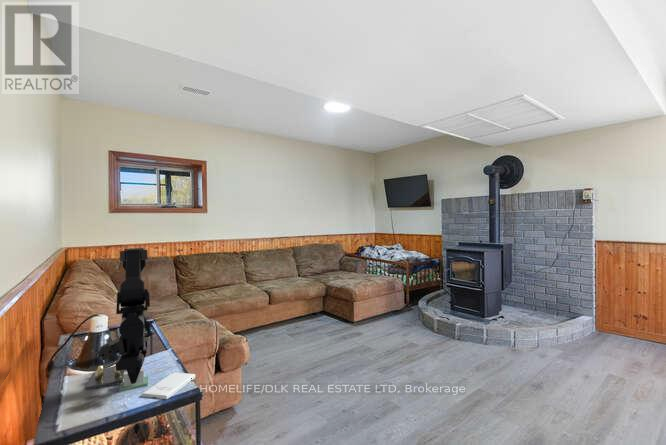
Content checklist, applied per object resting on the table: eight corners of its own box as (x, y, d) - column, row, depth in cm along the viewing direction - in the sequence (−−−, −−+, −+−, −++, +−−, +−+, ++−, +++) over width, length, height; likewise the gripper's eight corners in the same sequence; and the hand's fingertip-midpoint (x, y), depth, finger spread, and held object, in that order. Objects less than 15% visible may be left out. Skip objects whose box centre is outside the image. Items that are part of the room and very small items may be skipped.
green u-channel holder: (121, 385, 96) (120, 370, 96) (148, 379, 99) (147, 365, 99) (119, 393, 91) (119, 377, 91) (147, 386, 95) (147, 371, 95)
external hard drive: (195, 379, 99) (167, 401, 87) (172, 377, 101) (141, 398, 89) (195, 374, 99) (166, 395, 87) (172, 372, 101) (141, 392, 89)
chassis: (96, 371, 105) (96, 361, 105) (128, 366, 109) (128, 356, 109) (85, 389, 93) (85, 378, 93) (122, 382, 97) (122, 371, 97)
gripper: (107, 324, 100) (108, 374, 100) (92, 343, 84) (93, 403, 83) (148, 319, 105) (149, 366, 105) (141, 336, 88) (142, 393, 88)
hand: (134, 381), depth 95 cm, fingers open, 3 cm apart
